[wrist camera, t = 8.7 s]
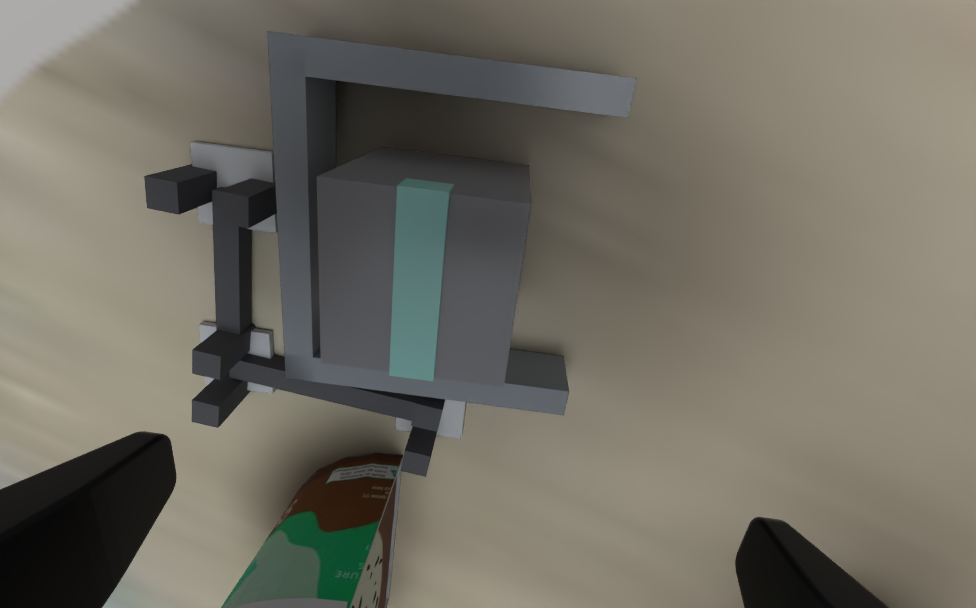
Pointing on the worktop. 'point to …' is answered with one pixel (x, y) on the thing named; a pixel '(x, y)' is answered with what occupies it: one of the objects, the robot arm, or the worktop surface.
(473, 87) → the holder
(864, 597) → the robot arm
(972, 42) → the worktop surface
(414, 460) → the clip
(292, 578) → the food container
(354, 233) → the block
